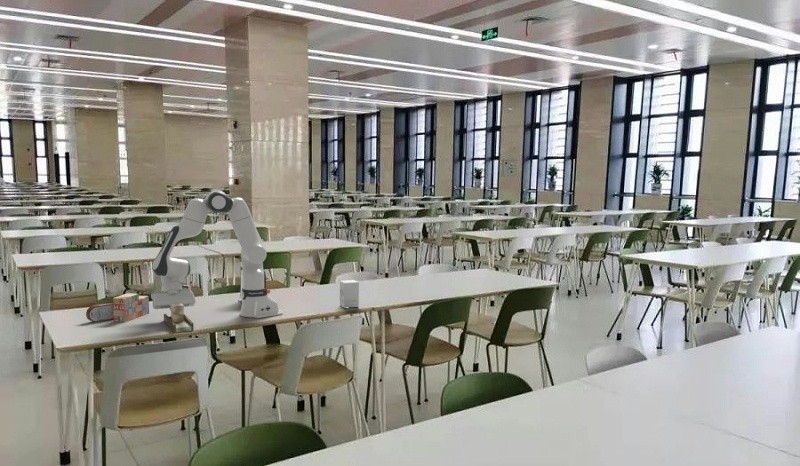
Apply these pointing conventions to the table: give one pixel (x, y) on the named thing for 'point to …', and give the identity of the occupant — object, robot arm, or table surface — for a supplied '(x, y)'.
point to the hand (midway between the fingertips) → (176, 313)
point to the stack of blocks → (130, 307)
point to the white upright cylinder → (242, 279)
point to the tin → (100, 312)
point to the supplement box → (349, 293)
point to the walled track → (179, 324)
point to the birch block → (177, 312)
